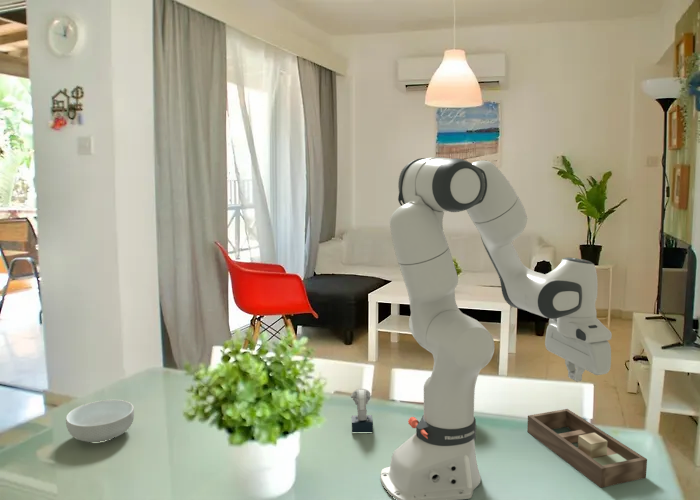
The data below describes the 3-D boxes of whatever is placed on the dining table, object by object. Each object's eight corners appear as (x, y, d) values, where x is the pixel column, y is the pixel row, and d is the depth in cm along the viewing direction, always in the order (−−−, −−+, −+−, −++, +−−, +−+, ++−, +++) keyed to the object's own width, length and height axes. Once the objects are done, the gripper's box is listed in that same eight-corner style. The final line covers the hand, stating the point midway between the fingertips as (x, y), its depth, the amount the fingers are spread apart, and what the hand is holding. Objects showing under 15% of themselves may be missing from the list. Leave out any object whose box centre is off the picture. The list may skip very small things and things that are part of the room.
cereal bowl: (132, 446, 156) (130, 421, 155) (62, 456, 153) (59, 429, 151) (138, 418, 173) (136, 395, 171) (75, 426, 169) (72, 402, 168)
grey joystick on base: (371, 422, 167) (371, 384, 165) (373, 436, 159) (372, 396, 157) (351, 423, 167) (350, 384, 165) (351, 437, 159) (350, 397, 157)
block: (590, 458, 141) (591, 444, 141) (577, 449, 146) (578, 435, 145) (606, 454, 143) (607, 440, 142) (593, 446, 147) (594, 432, 146)
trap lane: (600, 487, 133) (601, 468, 132) (527, 431, 159) (527, 415, 158) (645, 477, 136) (647, 459, 135) (566, 424, 163) (567, 408, 162)
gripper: (539, 315, 155) (538, 366, 158) (593, 338, 136) (591, 397, 138) (560, 312, 157) (559, 363, 159) (617, 334, 138) (614, 392, 140)
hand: (574, 379), depth 149 cm, fingers closed
